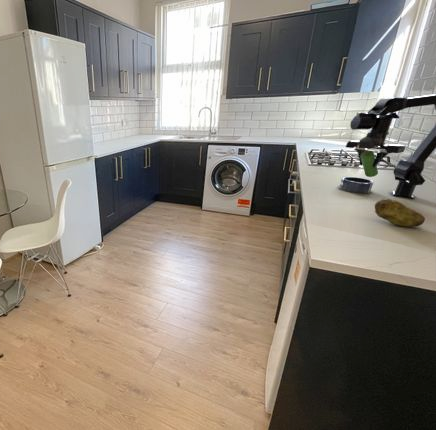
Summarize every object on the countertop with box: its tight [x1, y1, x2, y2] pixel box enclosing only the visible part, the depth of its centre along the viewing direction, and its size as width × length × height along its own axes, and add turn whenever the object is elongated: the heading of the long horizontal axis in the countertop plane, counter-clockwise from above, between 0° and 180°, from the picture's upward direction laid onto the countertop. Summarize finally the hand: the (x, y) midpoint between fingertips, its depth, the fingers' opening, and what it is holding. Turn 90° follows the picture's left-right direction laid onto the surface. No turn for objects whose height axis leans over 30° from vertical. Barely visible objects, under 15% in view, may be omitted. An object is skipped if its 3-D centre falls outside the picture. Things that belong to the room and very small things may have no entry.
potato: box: [374, 198, 426, 228], centre depth 96 cm, size 8×13×8 cm, turn 38°
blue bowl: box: [338, 176, 374, 194], centre depth 133 cm, size 12×12×5 cm
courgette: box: [360, 150, 379, 178], centre depth 123 cm, size 4×4×14 cm
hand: (367, 166), depth 124 cm, fingers closed on courgette, 4 cm apart
